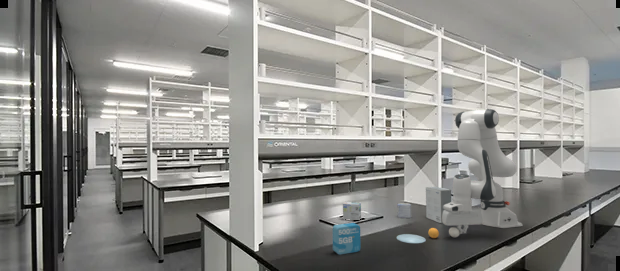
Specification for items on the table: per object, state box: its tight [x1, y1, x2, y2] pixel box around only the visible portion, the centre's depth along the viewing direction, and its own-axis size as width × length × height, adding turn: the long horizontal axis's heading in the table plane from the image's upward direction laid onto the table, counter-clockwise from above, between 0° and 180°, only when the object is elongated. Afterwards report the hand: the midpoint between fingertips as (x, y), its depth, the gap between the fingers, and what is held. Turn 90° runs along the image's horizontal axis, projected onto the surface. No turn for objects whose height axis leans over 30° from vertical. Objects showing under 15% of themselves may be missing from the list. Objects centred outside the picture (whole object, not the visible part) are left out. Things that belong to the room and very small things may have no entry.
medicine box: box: [397, 202, 412, 219], centre depth 199 cm, size 8×4×9 cm, turn 84°
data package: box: [332, 222, 361, 256], centre depth 138 cm, size 12×4×12 cm, turn 112°
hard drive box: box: [425, 186, 452, 224], centre depth 191 cm, size 16×8×20 cm, turn 13°
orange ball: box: [427, 227, 440, 239], centre depth 156 cm, size 5×5×5 cm
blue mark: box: [396, 233, 427, 244], centre depth 155 cm, size 14×14×1 cm
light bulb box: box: [342, 201, 362, 221], centre depth 194 cm, size 11×7×11 cm, turn 71°
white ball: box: [448, 226, 461, 238], centre depth 157 cm, size 5×5×5 cm
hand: (462, 233), depth 157 cm, fingers closed
